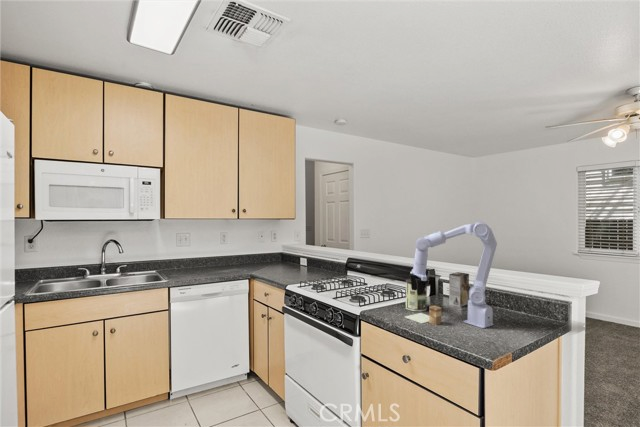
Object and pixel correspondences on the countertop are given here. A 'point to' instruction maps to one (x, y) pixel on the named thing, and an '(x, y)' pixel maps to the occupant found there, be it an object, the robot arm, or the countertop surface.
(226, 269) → the countertop surface
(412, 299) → the coffee can
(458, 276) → the coffee box
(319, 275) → the countertop surface
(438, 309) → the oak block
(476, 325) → the robot arm
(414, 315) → the felt mat
